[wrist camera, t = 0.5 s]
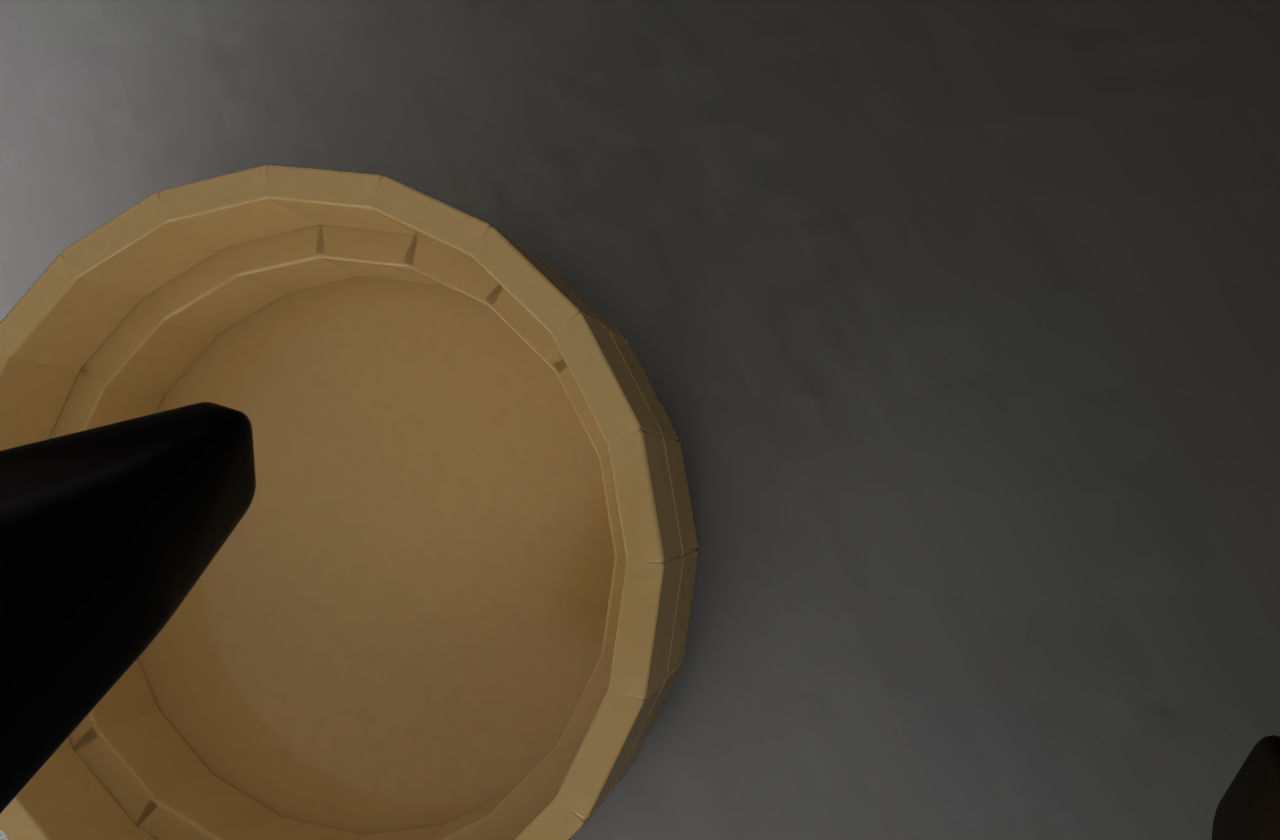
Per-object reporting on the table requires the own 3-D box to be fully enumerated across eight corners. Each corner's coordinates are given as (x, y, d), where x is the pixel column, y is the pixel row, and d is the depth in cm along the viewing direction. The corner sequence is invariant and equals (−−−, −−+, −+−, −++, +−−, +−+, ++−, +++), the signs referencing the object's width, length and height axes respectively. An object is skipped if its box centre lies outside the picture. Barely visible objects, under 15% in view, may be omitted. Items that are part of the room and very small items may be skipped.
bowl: (754, 845, 24) (727, 937, 19) (126, 916, 27) (-39, 1013, 22) (636, 163, 25) (583, 84, 20) (53, 298, 28) (-117, 257, 23)
